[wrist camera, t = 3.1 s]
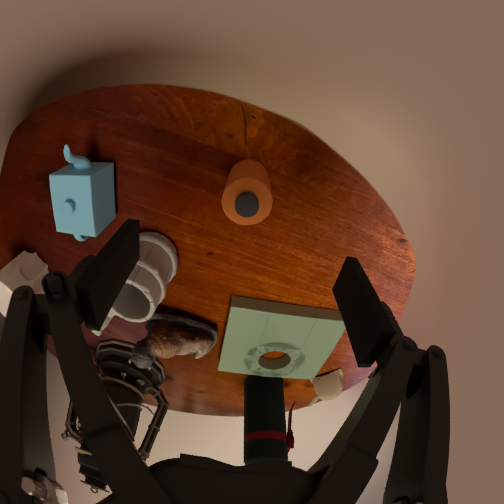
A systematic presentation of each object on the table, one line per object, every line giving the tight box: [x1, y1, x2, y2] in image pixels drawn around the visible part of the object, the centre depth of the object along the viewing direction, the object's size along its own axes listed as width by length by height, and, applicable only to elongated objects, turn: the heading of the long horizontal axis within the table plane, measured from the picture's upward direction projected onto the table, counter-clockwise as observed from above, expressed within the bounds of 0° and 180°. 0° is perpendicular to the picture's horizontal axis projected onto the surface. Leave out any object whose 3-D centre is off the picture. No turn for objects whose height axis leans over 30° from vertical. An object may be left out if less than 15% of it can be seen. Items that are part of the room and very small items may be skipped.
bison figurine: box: [129, 313, 218, 371], centre depth 38 cm, size 12×7×10 cm, turn 72°
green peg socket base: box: [218, 295, 346, 379], centre depth 43 cm, size 18×16×2 cm
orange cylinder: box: [222, 159, 273, 225], centre depth 26 cm, size 4×4×9 cm
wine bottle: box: [244, 375, 295, 465], centre depth 38 cm, size 8×10×30 cm
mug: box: [92, 232, 178, 336], centre depth 31 cm, size 8×12×12 cm, turn 126°
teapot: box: [49, 145, 116, 241], centre depth 26 cm, size 12×6×8 cm, turn 171°
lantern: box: [61, 340, 170, 493], centre depth 36 cm, size 20×16×30 cm
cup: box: [0, 250, 49, 318], centre depth 33 cm, size 10×10×10 cm
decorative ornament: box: [309, 368, 343, 406], centre depth 48 cm, size 4×8×5 cm, turn 115°
